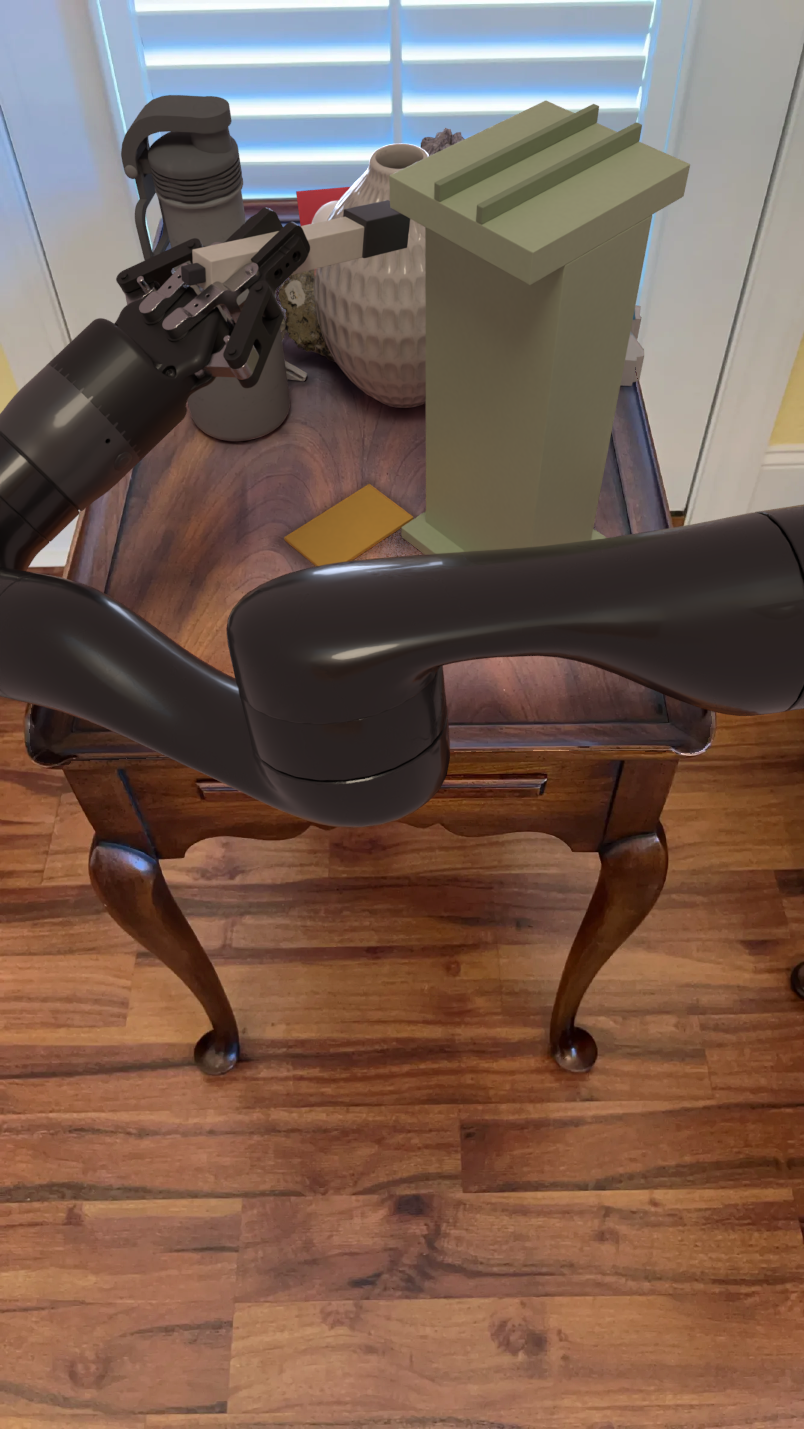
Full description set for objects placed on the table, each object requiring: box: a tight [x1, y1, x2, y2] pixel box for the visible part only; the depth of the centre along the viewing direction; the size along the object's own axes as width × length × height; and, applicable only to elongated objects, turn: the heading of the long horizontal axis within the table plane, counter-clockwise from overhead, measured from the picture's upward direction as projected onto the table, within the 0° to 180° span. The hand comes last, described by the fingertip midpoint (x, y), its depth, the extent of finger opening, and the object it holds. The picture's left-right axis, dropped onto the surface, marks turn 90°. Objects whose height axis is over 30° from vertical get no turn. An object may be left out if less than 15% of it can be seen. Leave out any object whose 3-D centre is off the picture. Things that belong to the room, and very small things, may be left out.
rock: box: [277, 269, 336, 363], centre depth 99 cm, size 6×9×10 cm
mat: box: [283, 483, 414, 567], centre depth 88 cm, size 10×6×1 cm, turn 132°
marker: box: [181, 200, 410, 289], centre depth 63 cm, size 17×2×2 cm, turn 132°
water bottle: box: [120, 94, 291, 442], centre depth 86 cm, size 10×10×28 cm
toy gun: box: [620, 304, 645, 387], centre depth 101 cm, size 3×14×10 cm
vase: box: [314, 142, 429, 409], centre depth 90 cm, size 16×16×22 cm
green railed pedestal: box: [389, 100, 691, 555], centre depth 73 cm, size 14×14×33 cm
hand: (288, 227), depth 62 cm, fingers closed on marker, 2 cm apart
